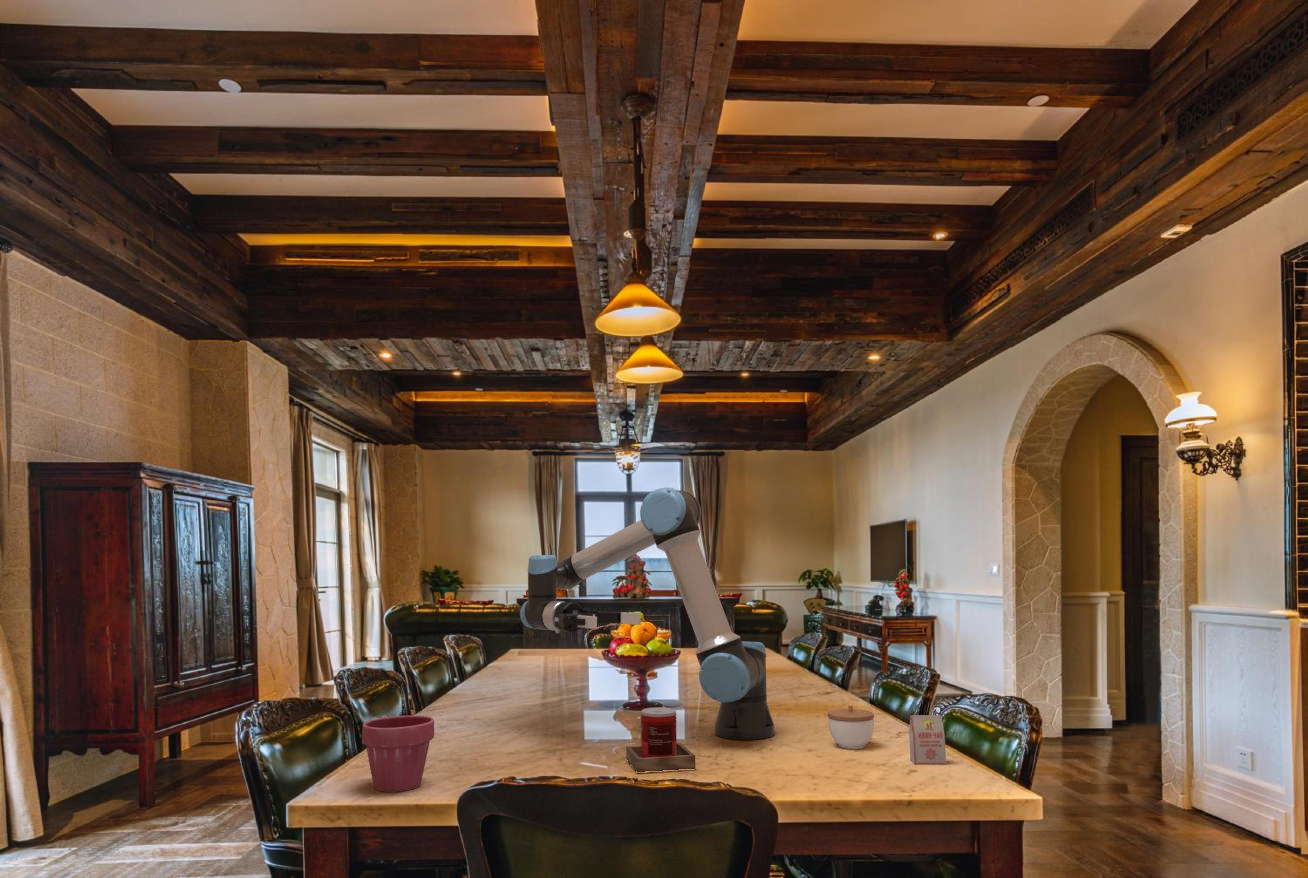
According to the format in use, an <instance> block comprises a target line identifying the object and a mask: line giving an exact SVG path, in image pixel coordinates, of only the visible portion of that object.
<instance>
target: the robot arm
mask: <svg viewBox="0 0 1308 878" xmlns="http://www.w3.org/2000/svg"><path fill="white" fill-rule="evenodd" d="M639 511H640V512H639V515H640V519H639V520H638V521H635V522H634V523H631V524H630V525H628V526H626V527H624V528H623V529H620V530H618V531H616V532H615V533H612V534H610V535H609V536H607V537H605V538H603V539H601V540H599V541H597V542H595V543H593V544H591V545H589V546H587V547H585V548H584V549H582V550H579V551H578V552H575V553H574V554H572V555H570V556H568V557H566V558H564V559H563V560H561V561H558V559H557V557H556V555H555V554H544V555H543V554H534V555H533V554H532V555H530V556H529V558H528V564H527V565H528V566H527V601H525V602H524V603H523V604H522V606H521V608H520V611H519V617H520V621H521V622H522V625H524V626H526V627H527V628H528V629H529V628H530V629H533V630H538V631H539V630H542V631H543V630H544V631H555V633H556V634H560V632H561V633H562V632H563V633H576V632H578V631H579V630H580V629H581V628H583V629H592V630H593V629H597V628H598V624H601V623H604V624H606V623H610V624H613V623H614V624H617V623H618V624H619V623H620V624H622V625H625V624H626V625H636V626H639V625H641V619H642V618H641V613H640V612H639V613H638V612H630V611H626V609H624V608H623V609H622V611H599V610H589V609H584V608H583V607H582V606H581V605H580V604H579V603H577V602H573V601H564V600H563V601H562V600H557V591H558V590H570V589H572V588H574V587H577V586H579V585H580V583H581V582H582V581H584V580H586V579H588V578H590V577H592V576H594V575H596V574H598V573H600V572H602V571H604V570H606V569H608V568H610V567H612V566H613V565H617V564H618V563H620V562H622V561H624V560H626V559H627V558H630V557H632V556H634V555H636V554H638V553H640V552H642V551H644V550H645V549H646V550H647V549H648V548H650V547H652V546H653V545H656V548H657V549H659V550H660V551H662V552H664V553H665V555H666V558H667V561H668V564H669V567H670V569H671V572H672V574H673V577H674V579H675V583H676V586H677V588H678V591H679V594H680V596H681V599H682V601H683V605H684V608H685V610H686V613H687V615H688V619H689V620H690V621H689V622H690V623H691V626H692V629H693V632H694V635H695V638H696V640H697V644H698V647H697V649H696V651H695V656H696V659H697V661H698V664H699V667H700V668H699V672H698V678H699V684H700V686H701V688H702V690H703V691H704V693H705V694H706V695H707V696H708V697H709V698H710V699H712V700H714V701H716V702H719V703H720V704H719V709H718V712H717V716H716V719H715V723H714V735H716V736H717V737H719V738H724V739H728V740H729V739H730V740H738V741H740V740H741V741H742V740H743V741H744V740H747V741H749V740H750V741H751V740H752V741H753V740H762V739H767V738H771V737H774V736H775V724H774V720H773V717H772V715H771V710H770V708H769V705H768V701H767V700H768V699H767V696H768V695H767V659H766V658H767V653H766V646H765V644H764V643H763V642H760V641H742V638H741V636H740V635H738V634H736V633H734V632H733V631H732V630H731V627H730V624H729V621H728V618H727V615H726V613H725V611H724V608H723V606H722V603H721V600H720V598H719V595H718V592H717V589H716V586H715V584H714V582H713V581H714V580H713V579H712V576H711V573H710V570H709V567H708V565H707V563H706V560H705V557H704V554H703V553H702V549H701V547H700V544H699V540H698V539H699V537H700V534H701V530H700V527H699V524H700V521H701V518H702V508H701V504H700V502H699V501H698V499H697V498H696V497H695V496H694V494H692V493H691V492H688V491H686V490H679V489H675V488H673V487H661V488H657V489H655V490H652V491H651V492H650V493H648V494H647V495H646V496H645V497H644V499H643V501H642V503H641V506H640V510H639Z"/></svg>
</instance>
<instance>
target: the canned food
mask: <svg viewBox="0 0 1308 878" xmlns="http://www.w3.org/2000/svg"><path fill="white" fill-rule="evenodd" d="M640 724H641V726H640V728H641V729H640V731H641V732H640V733H641V734H640V736H641V745H640V746H642V758H652V757H668V756H677V742H678V741H677V710H675V709H673V708H670V707H662V706H661V707H647V708H643V709H641V713H640Z"/></svg>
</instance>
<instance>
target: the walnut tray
mask: <svg viewBox="0 0 1308 878" xmlns="http://www.w3.org/2000/svg"><path fill="white" fill-rule="evenodd" d="M625 748H626V749H625V754H626V755H625V757H626V758H625V760H626V759H627V760H628V762H629V763H630V764H631V765H632V766H633V768H634V769H635V770H636V771H637V772H645V771H663V770H679V769H695V770H696V755H695V754H694V753H693V752H692V751H691V750H689V749H688V748H687V747H686V746H684V745H683V744H682V743H680V742H679V743H677V756H668V757H652V758H642V745H631V746H630V745H629V746H625ZM628 762H627V763H628ZM629 763H628V764H629ZM630 764H629V765H630ZM633 768H632V769H633ZM634 769H633V770H634Z"/></svg>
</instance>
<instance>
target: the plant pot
mask: <svg viewBox="0 0 1308 878" xmlns="http://www.w3.org/2000/svg"><path fill="white" fill-rule="evenodd" d="M434 738H435V718H433V717H430V716H427V715H426V716H425V715H398V716H397V715H396V716H387V717H380V718H374V719H370V720H367V721H365V722H364V723H362V730H361V743H362V744H363V746H364V745H365V746H366V751H367V752H366V753H367V757H368V763H369V764H368V765H369V769H370V774H371V779H372V785H373V788H374V789H375V790H376V791H379V792H387V793H388V792H389V793H390V792H391V793H394V792H395V793H396V792H405V791H410V790H413V789H416V788H419V787H420V786H421V784H422V780H423V775H424V771H425V765H426V762H427V756H428V752H429V748H430V747H429V746H430V742H431V740H432V741H433V739H434Z"/></svg>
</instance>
